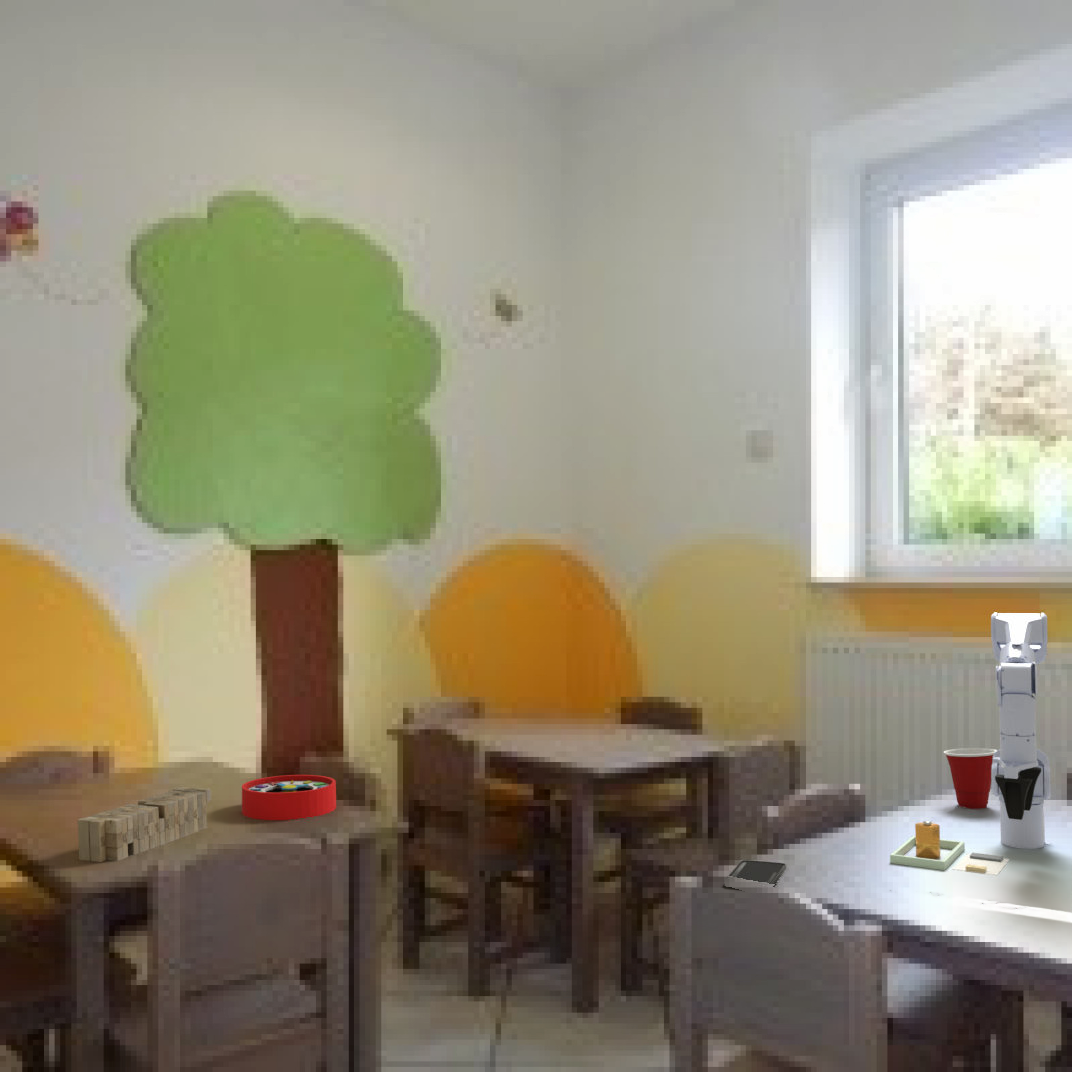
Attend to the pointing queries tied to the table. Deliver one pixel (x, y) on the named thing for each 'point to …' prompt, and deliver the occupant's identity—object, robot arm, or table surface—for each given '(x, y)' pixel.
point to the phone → (759, 871)
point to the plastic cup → (971, 775)
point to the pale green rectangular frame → (923, 862)
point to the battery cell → (927, 840)
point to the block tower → (143, 824)
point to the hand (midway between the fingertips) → (1019, 814)
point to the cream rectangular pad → (982, 863)
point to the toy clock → (288, 797)
